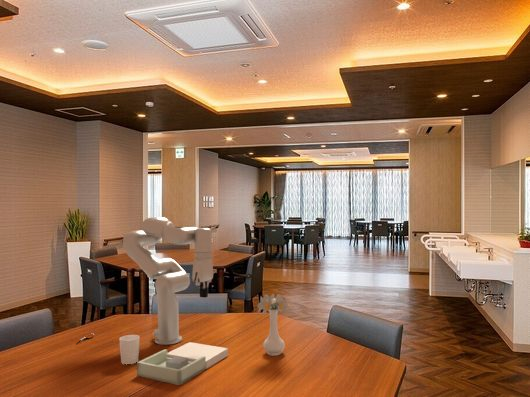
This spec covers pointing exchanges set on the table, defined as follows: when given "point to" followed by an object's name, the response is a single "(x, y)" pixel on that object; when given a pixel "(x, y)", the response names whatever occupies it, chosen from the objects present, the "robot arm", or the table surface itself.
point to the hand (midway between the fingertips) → (203, 296)
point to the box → (169, 369)
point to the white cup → (129, 349)
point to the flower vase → (273, 322)
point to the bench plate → (199, 353)
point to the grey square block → (177, 363)
